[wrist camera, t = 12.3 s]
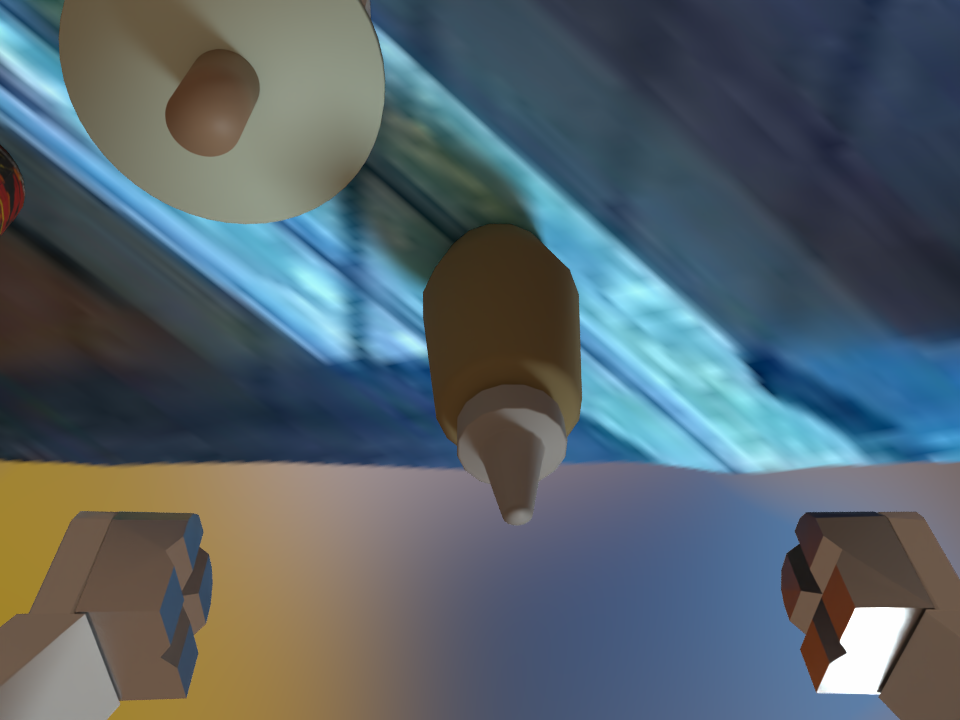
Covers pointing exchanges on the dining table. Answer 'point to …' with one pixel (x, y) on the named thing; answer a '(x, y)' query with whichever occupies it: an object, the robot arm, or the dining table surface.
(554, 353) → the squeeze bottle
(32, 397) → the dining table surface
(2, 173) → the deodorant
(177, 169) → the lid
